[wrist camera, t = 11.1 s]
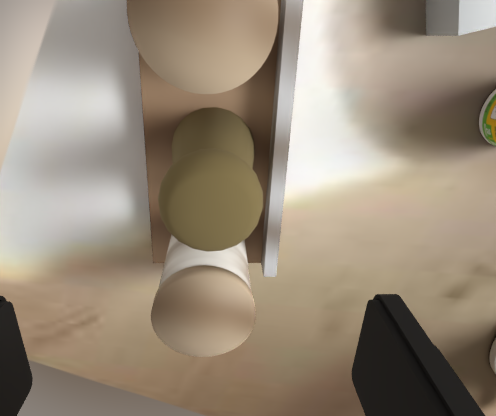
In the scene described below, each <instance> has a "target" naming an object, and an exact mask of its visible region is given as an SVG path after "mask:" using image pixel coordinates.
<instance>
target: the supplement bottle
mask: <svg viewBox="0 0 496 416" xmlns="http://www.w3.org/2000/svg"><path fill="white" fill-rule="evenodd" d="M479 128H480V132H481V134H482V136H483V137H484V139H485V140H486V141H487V142H489V143H490V144H492V145H494V146H496V89H495V90H494V91H493V92H492V93H491V94H490V96H489V97H488V98H487V100H486V101H485V103H484V105H483V107H482V110H481V113H480V117H479Z"/></svg>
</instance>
